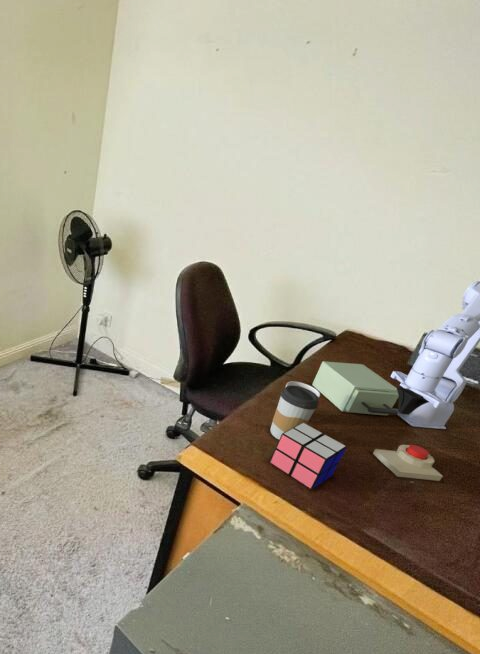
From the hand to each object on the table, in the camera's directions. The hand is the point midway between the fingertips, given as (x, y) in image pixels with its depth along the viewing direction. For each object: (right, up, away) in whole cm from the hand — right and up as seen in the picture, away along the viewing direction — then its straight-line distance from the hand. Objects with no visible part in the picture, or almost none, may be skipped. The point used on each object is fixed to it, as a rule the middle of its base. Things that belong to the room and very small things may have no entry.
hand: (403, 412), depth 115 cm
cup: (-23, -4, +11) cm, 26 cm away
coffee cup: (-32, -7, +2) cm, 33 cm away
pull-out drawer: (+2, -1, +15) cm, 15 cm away
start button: (-5, -9, -8) cm, 13 cm away
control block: (-8, -12, -7) cm, 16 cm away
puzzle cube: (-37, -12, -9) cm, 40 cm away
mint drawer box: (+2, -1, +19) cm, 19 cm away
